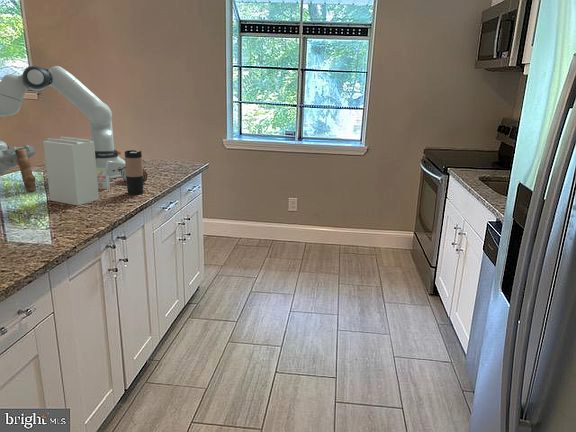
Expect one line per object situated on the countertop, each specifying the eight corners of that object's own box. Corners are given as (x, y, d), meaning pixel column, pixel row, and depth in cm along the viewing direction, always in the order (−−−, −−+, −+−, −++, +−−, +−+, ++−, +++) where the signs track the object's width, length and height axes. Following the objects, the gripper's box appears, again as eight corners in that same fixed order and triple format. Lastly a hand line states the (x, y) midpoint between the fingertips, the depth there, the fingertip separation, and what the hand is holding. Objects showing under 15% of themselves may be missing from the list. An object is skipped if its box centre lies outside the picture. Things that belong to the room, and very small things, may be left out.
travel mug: (128, 195, 209) (125, 153, 203) (126, 191, 215) (123, 150, 209) (145, 194, 212) (143, 152, 206) (142, 190, 219) (140, 149, 213)
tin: (148, 183, 233) (147, 167, 230) (144, 184, 230) (143, 168, 227) (124, 180, 237) (123, 164, 235) (120, 181, 235) (119, 165, 232)
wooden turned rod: (11, 150, 201) (19, 149, 199) (22, 149, 206) (29, 148, 204) (23, 193, 206) (31, 192, 204) (33, 191, 210) (41, 190, 208)
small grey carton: (96, 187, 221) (94, 167, 218) (109, 187, 221) (108, 167, 218) (93, 189, 217) (91, 169, 214) (107, 189, 218) (105, 169, 215)
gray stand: (50, 200, 196) (42, 138, 188) (72, 194, 206) (65, 135, 198) (78, 205, 190) (71, 142, 182) (99, 199, 201) (93, 139, 193)
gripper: (-20, 156, 199) (-4, 143, 192) (21, 150, 217) (38, 138, 211) (-13, 169, 199) (3, 156, 193) (27, 162, 217) (44, 150, 211)
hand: (21, 147), depth 202 cm, fingers closed on wooden turned rod, 4 cm apart
